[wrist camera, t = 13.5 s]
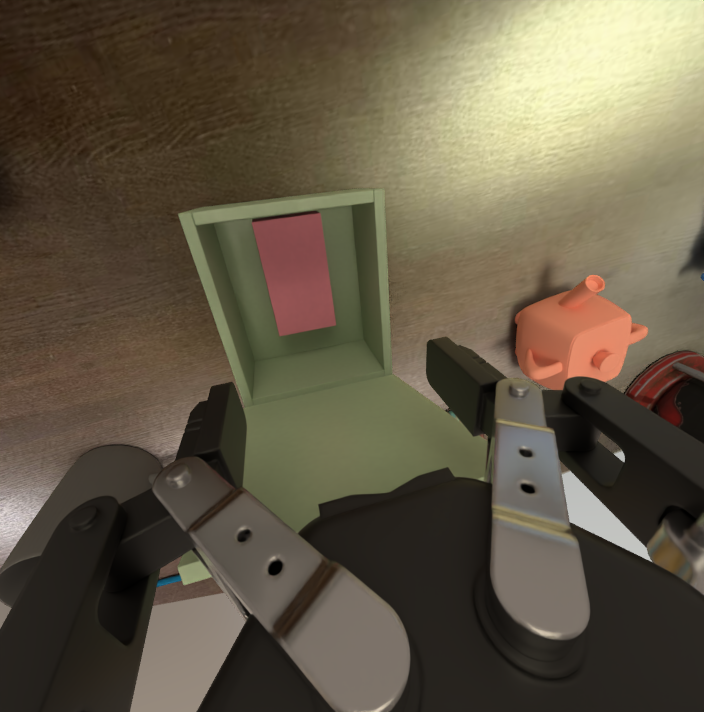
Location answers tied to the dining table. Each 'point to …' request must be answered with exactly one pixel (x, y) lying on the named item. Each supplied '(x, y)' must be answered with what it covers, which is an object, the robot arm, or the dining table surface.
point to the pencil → (169, 580)
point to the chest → (253, 305)
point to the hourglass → (674, 391)
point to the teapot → (574, 336)
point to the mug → (77, 504)
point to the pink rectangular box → (296, 271)
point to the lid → (346, 449)
